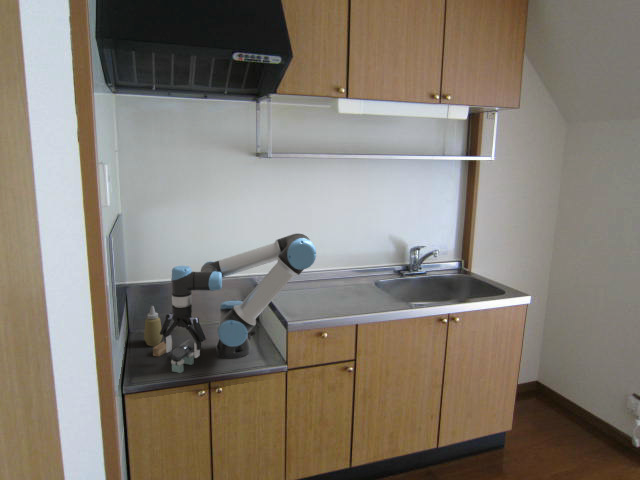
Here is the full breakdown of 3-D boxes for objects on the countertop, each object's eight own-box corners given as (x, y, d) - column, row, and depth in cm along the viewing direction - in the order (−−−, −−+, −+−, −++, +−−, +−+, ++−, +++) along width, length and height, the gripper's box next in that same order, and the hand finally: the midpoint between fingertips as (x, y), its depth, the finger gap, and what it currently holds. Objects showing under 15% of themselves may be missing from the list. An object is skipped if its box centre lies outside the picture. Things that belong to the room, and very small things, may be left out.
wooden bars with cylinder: (190, 351, 198) (190, 344, 197) (177, 360, 189) (177, 352, 189) (166, 346, 202) (166, 339, 201) (153, 355, 193) (152, 348, 192)
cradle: (184, 361, 189) (184, 350, 188) (194, 363, 188) (194, 351, 187) (171, 371, 180) (170, 359, 179) (181, 373, 179) (181, 361, 178)
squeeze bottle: (156, 348, 199) (155, 310, 196) (140, 346, 201) (139, 308, 197) (166, 341, 207) (165, 304, 204) (150, 339, 209) (149, 302, 205)
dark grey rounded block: (188, 351, 189) (184, 340, 189) (197, 349, 188) (194, 338, 187) (172, 362, 179) (168, 351, 178) (182, 360, 177) (178, 349, 177)
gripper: (214, 305, 179) (214, 355, 183) (161, 297, 186) (162, 345, 190) (204, 311, 172) (204, 363, 176) (149, 303, 179) (151, 352, 183)
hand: (182, 353), depth 183 cm, fingers open, 13 cm apart
